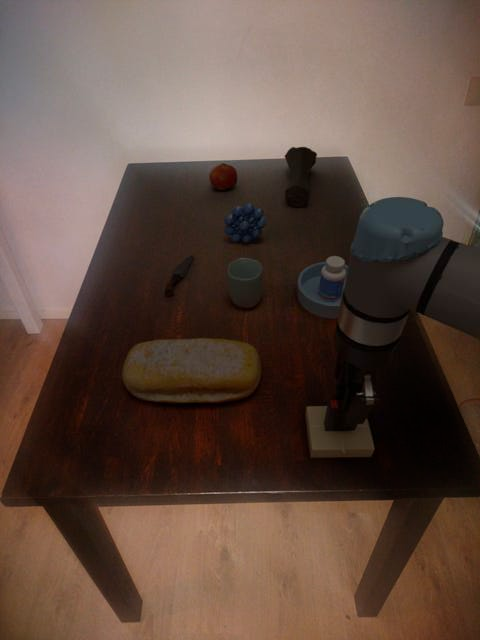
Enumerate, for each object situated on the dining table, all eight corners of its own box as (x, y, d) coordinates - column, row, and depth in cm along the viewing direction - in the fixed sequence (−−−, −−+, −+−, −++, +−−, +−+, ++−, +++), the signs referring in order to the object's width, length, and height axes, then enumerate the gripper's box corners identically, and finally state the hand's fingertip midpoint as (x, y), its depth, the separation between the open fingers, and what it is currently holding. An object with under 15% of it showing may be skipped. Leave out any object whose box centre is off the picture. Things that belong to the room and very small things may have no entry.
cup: (257, 316, 87) (256, 282, 80) (225, 309, 89) (221, 276, 82) (266, 294, 92) (267, 260, 85) (236, 288, 94) (234, 255, 87)
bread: (262, 408, 71) (262, 383, 65) (120, 412, 71) (108, 387, 66) (259, 351, 80) (259, 325, 74) (134, 355, 81) (124, 330, 75)
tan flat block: (360, 411, 69) (363, 401, 67) (372, 460, 63) (376, 452, 61) (304, 412, 70) (306, 402, 67) (310, 461, 63) (312, 453, 61)
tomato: (205, 189, 130) (202, 166, 124) (222, 178, 135) (220, 155, 129) (226, 196, 126) (224, 173, 120) (243, 185, 130) (242, 162, 125)
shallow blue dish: (374, 289, 91) (377, 276, 89) (344, 329, 83) (347, 316, 80) (317, 267, 98) (319, 254, 95) (284, 301, 90) (285, 288, 87)
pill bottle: (340, 303, 88) (347, 270, 81) (317, 300, 89) (321, 267, 82) (342, 288, 92) (348, 255, 85) (319, 285, 93) (323, 252, 86)
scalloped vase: (293, 172, 140) (290, 221, 123) (280, 148, 133) (275, 197, 116) (321, 159, 134) (322, 209, 118) (309, 133, 128) (308, 182, 111)
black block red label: (353, 421, 65) (361, 398, 59) (355, 430, 63) (363, 407, 58) (323, 422, 65) (328, 399, 60) (325, 431, 64) (330, 408, 58)
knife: (170, 293, 91) (153, 282, 92) (169, 299, 93) (152, 288, 93) (207, 260, 102) (191, 250, 103) (205, 266, 104) (190, 256, 104)
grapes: (267, 234, 110) (267, 195, 101) (266, 248, 105) (266, 208, 96) (227, 233, 111) (224, 195, 102) (224, 247, 106) (220, 208, 97)
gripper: (421, 374, 41) (374, 465, 58) (383, 284, 51) (353, 384, 68) (350, 376, 41) (325, 467, 58) (327, 286, 51) (311, 385, 68)
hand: (340, 422), depth 63 cm, fingers closed on black block red label, 2 cm apart
